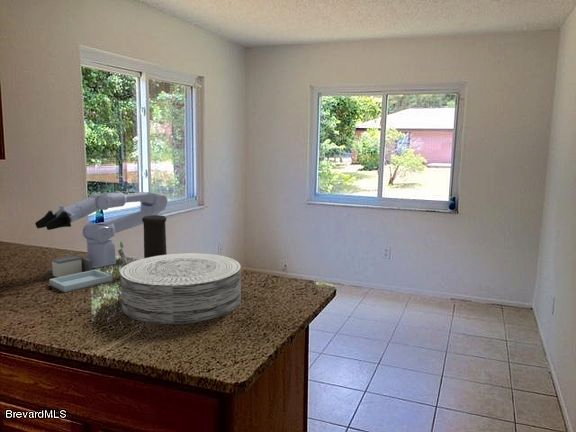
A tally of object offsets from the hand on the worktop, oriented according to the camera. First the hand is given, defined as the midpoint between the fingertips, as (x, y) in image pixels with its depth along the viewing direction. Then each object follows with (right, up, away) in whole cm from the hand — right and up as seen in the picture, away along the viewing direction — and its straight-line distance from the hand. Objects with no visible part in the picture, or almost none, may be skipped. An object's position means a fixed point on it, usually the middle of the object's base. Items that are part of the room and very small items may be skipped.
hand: (41, 226), depth 160 cm
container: (+35, -16, +15) cm, 41 cm away
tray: (+15, -19, -4) cm, 25 cm away
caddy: (+6, -17, +6) cm, 19 cm away
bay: (+6, -17, +6) cm, 19 cm away
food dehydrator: (+51, -22, -20) cm, 59 cm away
